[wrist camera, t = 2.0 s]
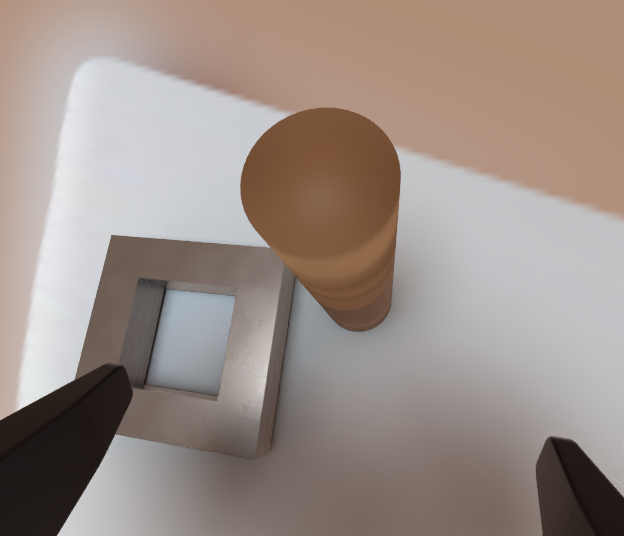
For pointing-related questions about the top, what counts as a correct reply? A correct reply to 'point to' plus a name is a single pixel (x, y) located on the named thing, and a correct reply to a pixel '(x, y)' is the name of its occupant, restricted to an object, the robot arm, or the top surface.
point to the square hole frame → (240, 349)
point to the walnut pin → (329, 209)
